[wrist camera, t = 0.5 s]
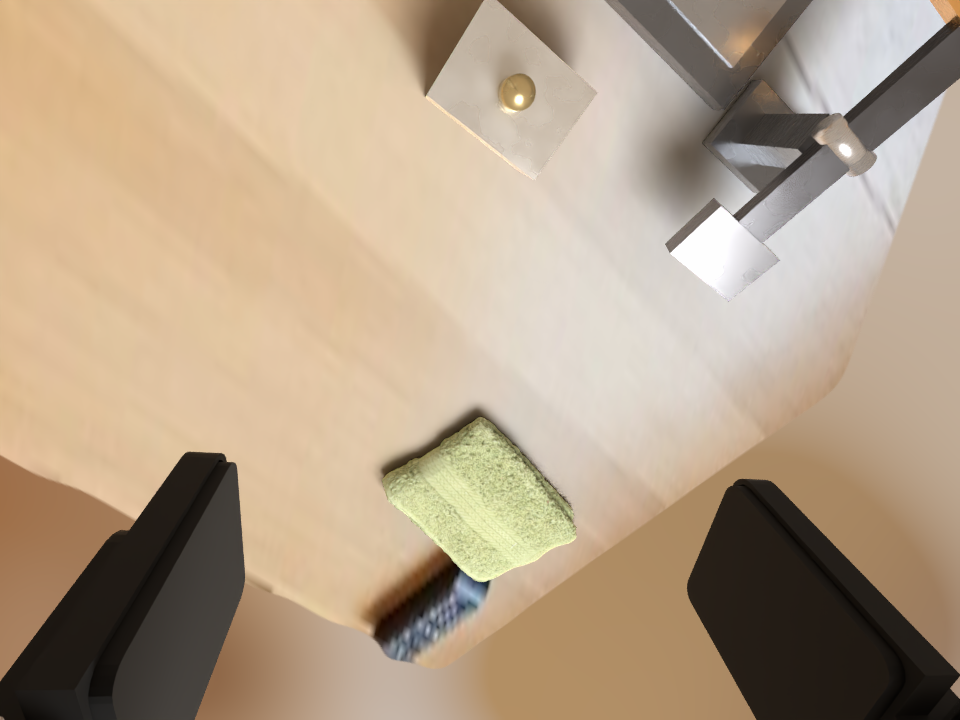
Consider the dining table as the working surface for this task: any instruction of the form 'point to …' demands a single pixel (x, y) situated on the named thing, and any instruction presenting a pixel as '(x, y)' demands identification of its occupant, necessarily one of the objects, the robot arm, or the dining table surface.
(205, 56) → the dining table surface
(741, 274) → the press lever
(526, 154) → the block
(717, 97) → the press bed
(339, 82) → the dining table surface
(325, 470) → the dining table surface
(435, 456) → the washcloth
